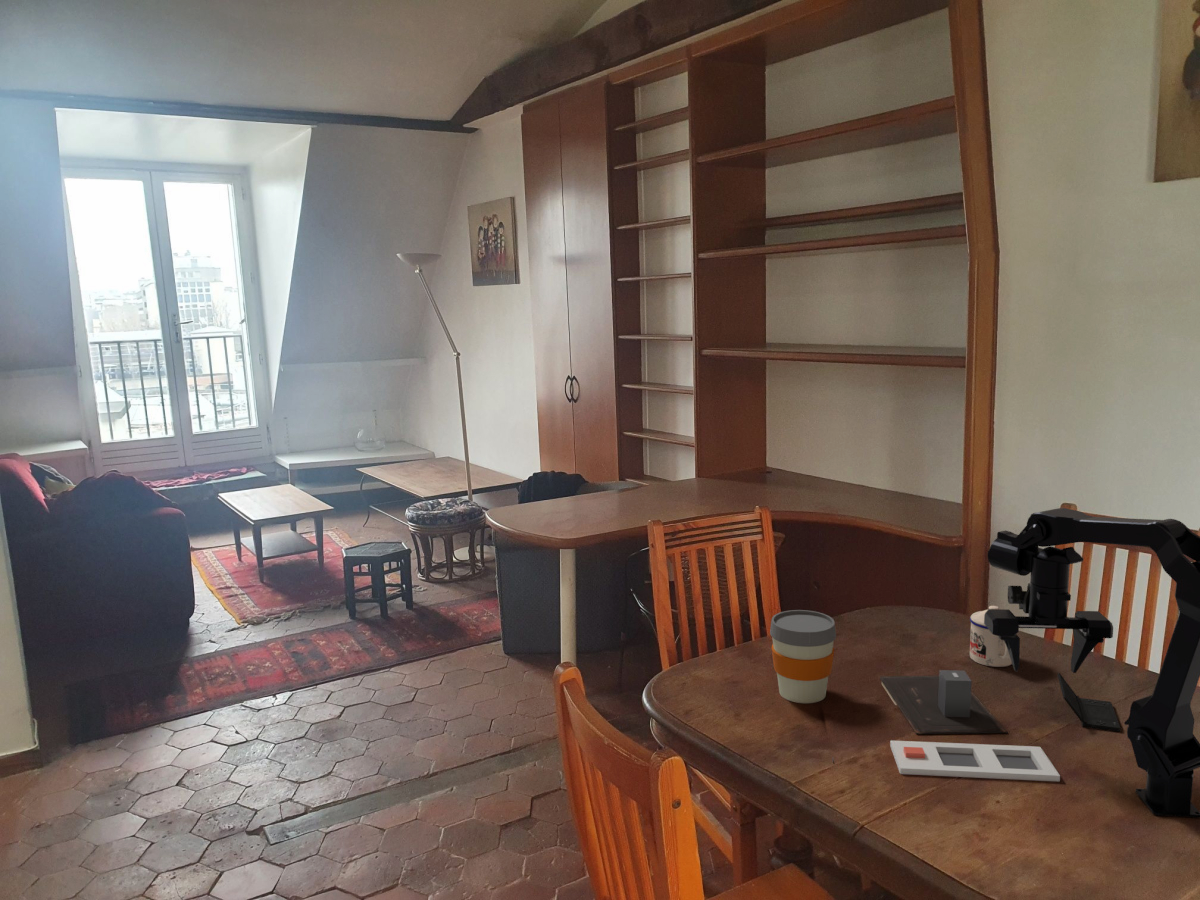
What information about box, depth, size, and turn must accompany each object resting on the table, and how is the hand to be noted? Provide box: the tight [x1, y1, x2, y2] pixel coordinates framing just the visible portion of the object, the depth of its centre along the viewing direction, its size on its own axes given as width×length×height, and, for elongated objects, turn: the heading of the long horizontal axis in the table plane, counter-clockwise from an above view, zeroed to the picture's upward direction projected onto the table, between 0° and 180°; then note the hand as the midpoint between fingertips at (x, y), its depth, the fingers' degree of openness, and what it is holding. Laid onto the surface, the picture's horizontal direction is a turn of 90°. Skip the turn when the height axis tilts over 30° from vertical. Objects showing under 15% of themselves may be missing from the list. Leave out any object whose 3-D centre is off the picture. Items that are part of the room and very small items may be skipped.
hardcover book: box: [878, 675, 1009, 735], centre depth 162 cm, size 16×23×2 cm
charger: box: [938, 669, 973, 718], centre depth 158 cm, size 4×4×7 cm
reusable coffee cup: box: [769, 609, 837, 704], centre depth 170 cm, size 13×13×15 cm
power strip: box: [832, 740, 1061, 783], centre depth 142 cm, size 9×34×3 cm, turn 81°
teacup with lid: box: [969, 605, 1012, 668], centre depth 181 cm, size 12×9×12 cm
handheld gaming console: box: [1057, 672, 1121, 733], centre depth 158 cm, size 12×7×10 cm
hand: (1044, 671), depth 147 cm, fingers open, 9 cm apart
